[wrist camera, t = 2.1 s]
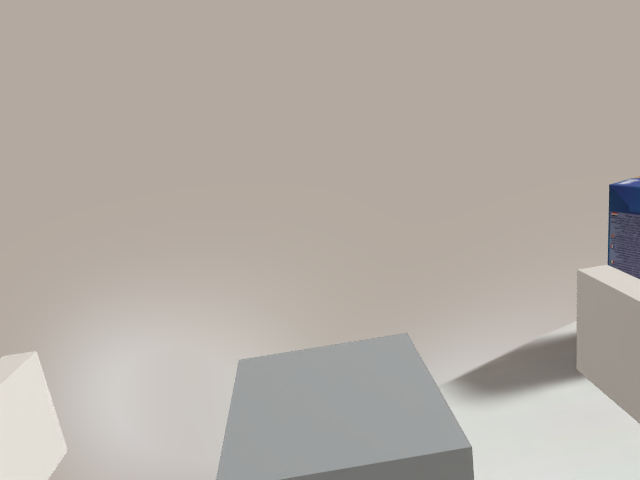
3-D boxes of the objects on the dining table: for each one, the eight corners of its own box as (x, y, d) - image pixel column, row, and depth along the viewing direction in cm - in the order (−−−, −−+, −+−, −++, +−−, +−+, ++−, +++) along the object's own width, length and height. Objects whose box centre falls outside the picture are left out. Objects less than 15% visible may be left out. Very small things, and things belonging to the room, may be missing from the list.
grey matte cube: (419, 460, 30) (407, 332, 28) (483, 620, 21) (471, 446, 18) (264, 486, 30) (238, 359, 28) (255, 663, 20) (214, 490, 18)
